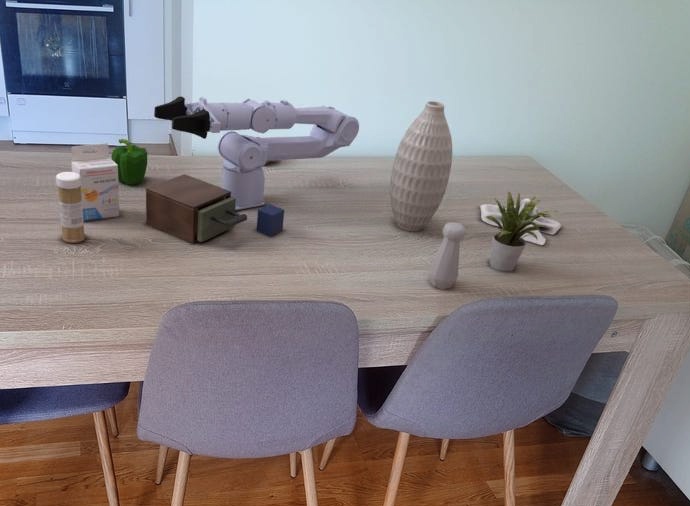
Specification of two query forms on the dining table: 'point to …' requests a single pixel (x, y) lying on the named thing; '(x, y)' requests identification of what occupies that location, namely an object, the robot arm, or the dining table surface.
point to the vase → (421, 169)
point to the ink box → (97, 181)
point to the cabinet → (179, 204)
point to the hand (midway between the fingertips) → (163, 117)
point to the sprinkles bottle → (70, 206)
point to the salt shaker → (447, 257)
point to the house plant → (512, 233)
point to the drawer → (216, 218)
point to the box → (270, 220)
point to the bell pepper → (130, 162)
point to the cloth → (549, 229)
